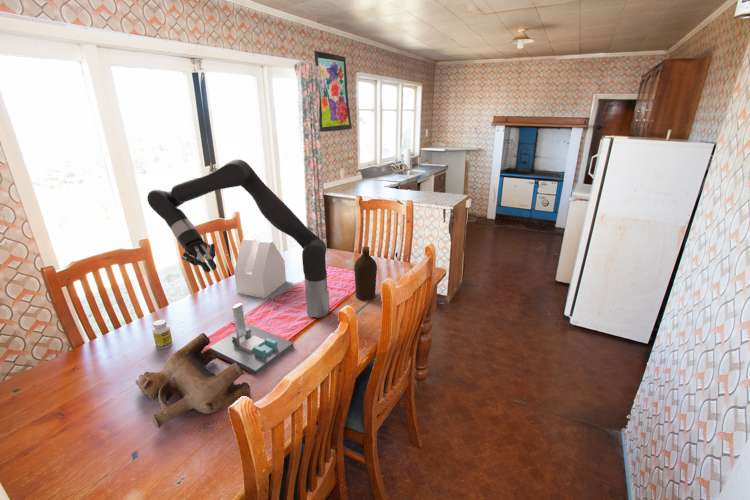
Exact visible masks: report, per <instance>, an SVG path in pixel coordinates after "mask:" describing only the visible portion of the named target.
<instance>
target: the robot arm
mask: <svg viewBox="0 0 750 500" xmlns="http://www.w3.org/2000/svg"><path fill="white" fill-rule="evenodd" d="M235 187H242V188H243V189H244V190H245V191H246V192H247V193H248V194H249V195H250V196H251V198H252V199H253V200H254V202H255V204H256V206H257V208H258V210H259V211H260V213H261V215H262V216H263V217H264V218H265V219H266V220H267V221H268V222H269V223H270V224H271V225H272V226H273V227H274V228H276V229H277V230H278V231H280V232H282V233H284V234H286V235H288V236H289V237H291V238H292V239H294V241H296V242H297V243H298V245H299V246H300V247H301V248H302V253H301V255H302V257H301V258H302V259H301V260H302V271H303V272H302V273H303V275H304V285H305V286H304V288H305V302H306V305H305V306H306V315H307V314H308V315H309V316H308V315H307V316H308V317H310V316H311V317H310V318H312V317H316V318H315V319H317V318H318V319H320V318H324V317H325V316H327V315H328V313H329V311H330V292H329V290H328V276H327V275H328V274H327V273H328V271H327V265H326V254H327V245H326V243H325V242H324V240H322V239H321V238H320V237H318V236H317V235H316V234H315V233H314V232H312V230H310V229H309V228H308V227H307V226H306V225H305V224H304V223H303V222H302V220H301V219H299V218H298V216H297V215H296V214H295V213H294V212H293V211H292V210H291V209H290V208H289V207H288V206H287V204H286V203H285V202H283V200H282V199H280V198H279V196H278V195H276V193H274V192H273V191H272V189H271V188H269V187H268V186H267V185H266V184H265V183H264V182H263V181H262V179H261V178H260V177H259V176H258V174H257V173H256V171H255V170H254V169H253V168H252V167H251V166H250V165H249V163H248V162H246V160H242V159H238V158H237V159H233V160H230V161H228V162H226V163H225V164H224V165H223V166H221V167H219V168H218V169H216V170H215V171H212V172H211V173H208V174H206V175H203V176H199V177H195V178H192V179H188V180H185V181H182V182H180V183H177V184H175V185H173V186H172V188H171V190H170V191H166V190H161V189H153V190H150V191H149V192H148V194H147V198H146V199H147V203H148V204H149V206H150V208H151V210H153V211H154V212H155V213H156V214H157V215H158V216H159V217H161V218H162V219H163V220H164V221H165V223H166V224H167V226H168V227H169V229H170V230H171V232H172V234H173V235H174V237H175V238H176V239H177V241H178V243H179V244H180V245H181V247H182V248H183V250H184V252H183V254H182V255H181V259H182V260H184V261H185V262H188V263H189V264H191V265H192V266H200V267H201V268H202V270H203V271H204V272H206V273H207V274H208V273H211V270H212V271H215V270H216V269H217V268H218V267H217V264H216V262H215V261H214V258H215V257H216V245H215V243H211V244H210V243H209V244H208V243H207V242H206V241H204V239H203V236H202V235H201V234H200V233H199V231H198V230H197V228H196V227H195V226H194V224H193V223H192V222H191V221H190V219H189V218H188V217H187V215H185V213H184V211H183V210H181V209H180V208H178V207H180V206H182V205H183V204H184V203H186V202H190V201H192V200H195V199H198V198H200V197H202V196H206V195H207V194H209V193H212V192H216V191H219V190H224V189H229V188H235ZM205 260H206V261H205Z"/></svg>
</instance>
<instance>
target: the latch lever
mask: <svg viewBox="0 0 750 500" xmlns="http://www.w3.org/2000/svg"><path fill="white" fill-rule="evenodd" d="M232 313H233V319H234V325H235V332H236V334H237V336H239V339H240V338H241V337H243V336H245V335H246V329H245V326H246V323H245V316H244V309H243V304H242V303H238V304H235V305H234V306H232Z"/></svg>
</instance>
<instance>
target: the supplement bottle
mask: <svg viewBox="0 0 750 500" xmlns="http://www.w3.org/2000/svg"><path fill="white" fill-rule="evenodd" d="M152 326H153V329H152V334H153V339H154V344H155V347H156V348H157V349H160V350H161V349H167V348H169V347H170V346H171V345H172V344H173V338H172V333H171V329H170V326H169V324H167V320H166V319H158V320H156V321H154V322H153V325H152Z"/></svg>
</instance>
